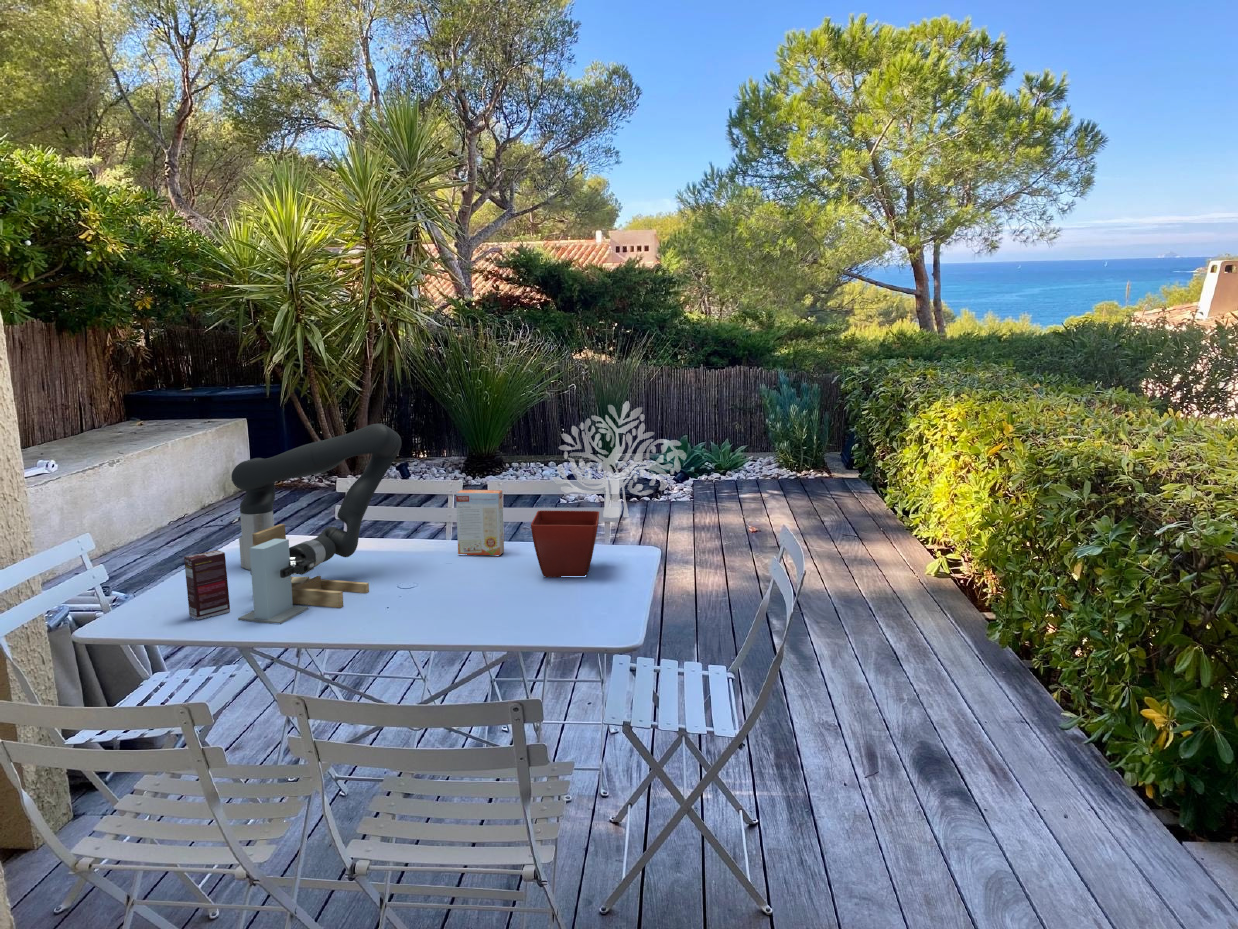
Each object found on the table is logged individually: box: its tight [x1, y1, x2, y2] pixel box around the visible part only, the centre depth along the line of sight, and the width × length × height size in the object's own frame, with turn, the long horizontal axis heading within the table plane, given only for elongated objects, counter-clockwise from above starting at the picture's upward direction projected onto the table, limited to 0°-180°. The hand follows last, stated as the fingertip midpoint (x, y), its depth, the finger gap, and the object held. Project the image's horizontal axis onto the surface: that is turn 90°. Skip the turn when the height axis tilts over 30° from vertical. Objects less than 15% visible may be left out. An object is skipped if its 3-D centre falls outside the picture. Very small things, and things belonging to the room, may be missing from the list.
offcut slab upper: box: [291, 576, 310, 587], centre depth 235 cm, size 4×6×2 cm, turn 4°
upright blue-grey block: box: [250, 538, 294, 619], centre depth 217 cm, size 4×10×18 cm, turn 166°
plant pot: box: [530, 510, 600, 578], centre depth 256 cm, size 19×19×17 cm
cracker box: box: [455, 489, 505, 556], centre depth 275 cm, size 14×6×21 cm, turn 84°
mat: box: [237, 604, 310, 624], centre depth 218 cm, size 12×12×1 cm
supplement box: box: [183, 549, 231, 620], centre depth 217 cm, size 9×5×16 cm, turn 141°
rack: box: [252, 523, 370, 609], centre depth 232 cm, size 26×14×18 cm, turn 76°
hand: (266, 573), depth 215 cm, fingers open, 8 cm apart
